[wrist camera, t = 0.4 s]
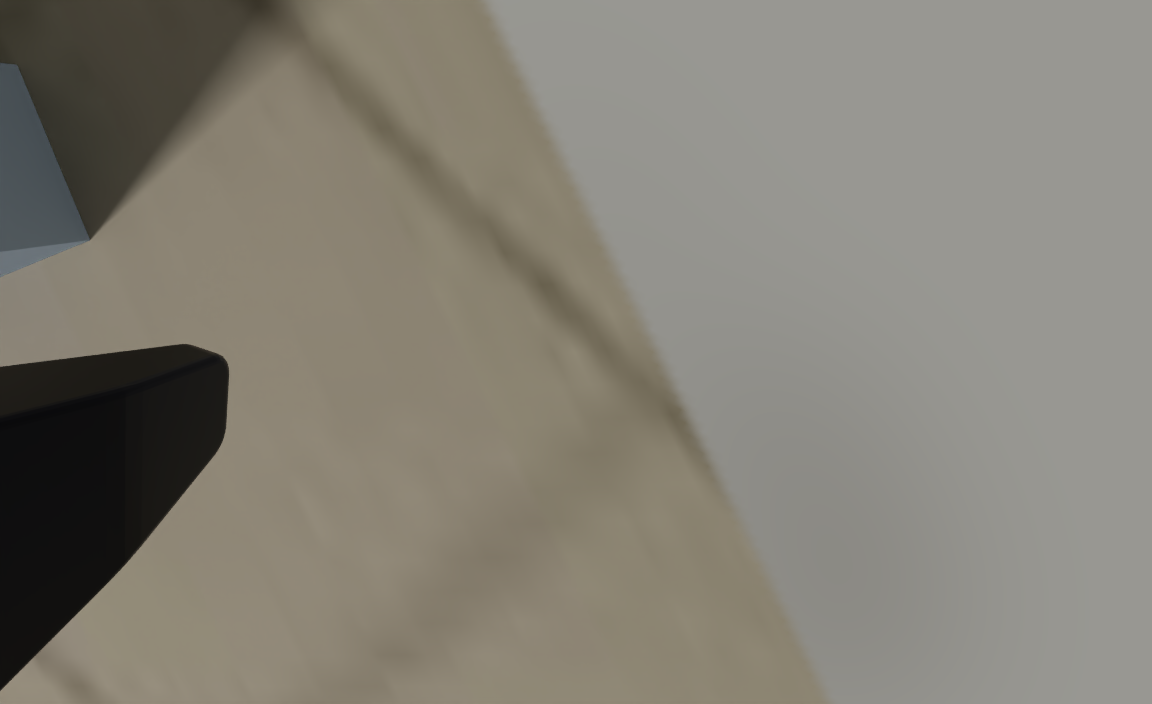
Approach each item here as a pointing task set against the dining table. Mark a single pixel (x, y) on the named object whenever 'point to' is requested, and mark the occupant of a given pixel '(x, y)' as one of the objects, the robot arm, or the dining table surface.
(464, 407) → the dining table surface
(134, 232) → the dining table surface
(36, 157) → the pillar block
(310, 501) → the dining table surface
